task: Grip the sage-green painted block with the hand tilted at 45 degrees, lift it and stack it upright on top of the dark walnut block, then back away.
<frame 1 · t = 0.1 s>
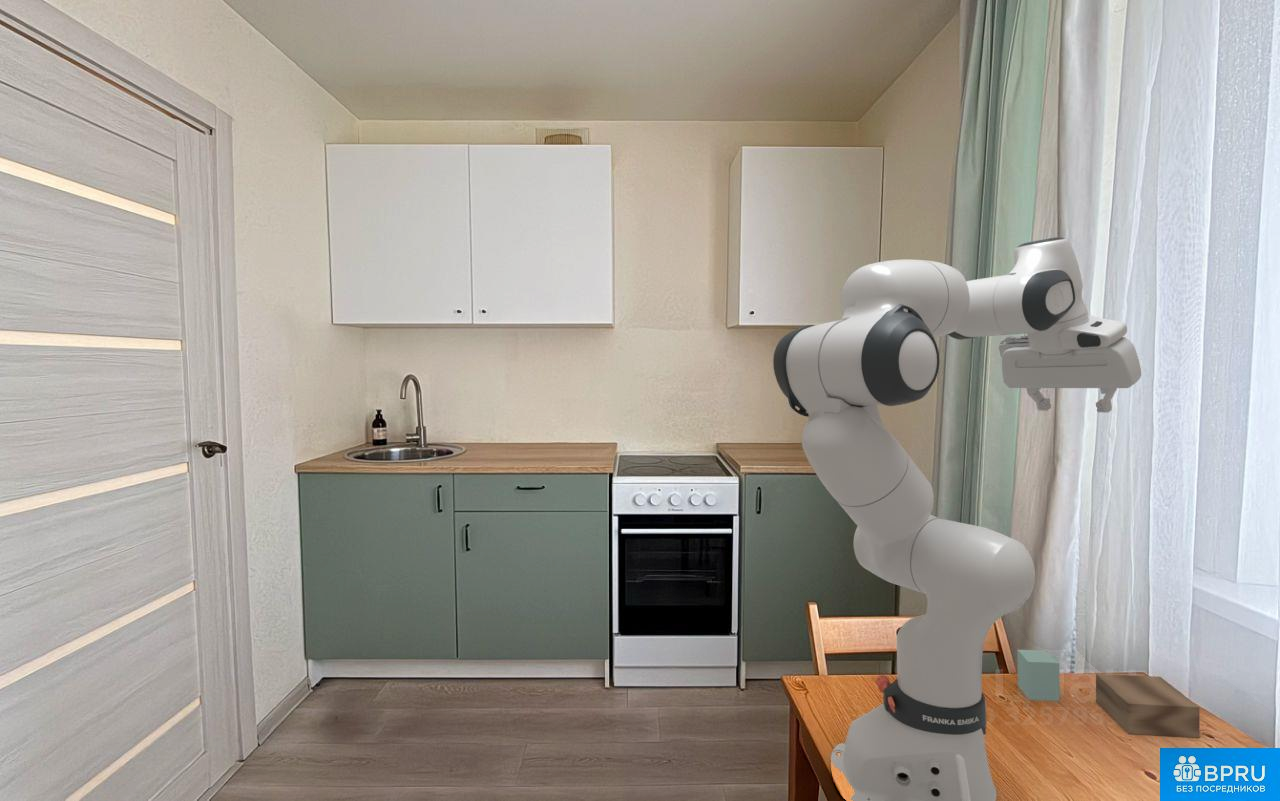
hand: (1073, 410, 109), 52 cm above the table, fingers open, 8 cm apart
walnut block: (1144, 718, 106), on the table
sage block: (1038, 693, 116), on the table
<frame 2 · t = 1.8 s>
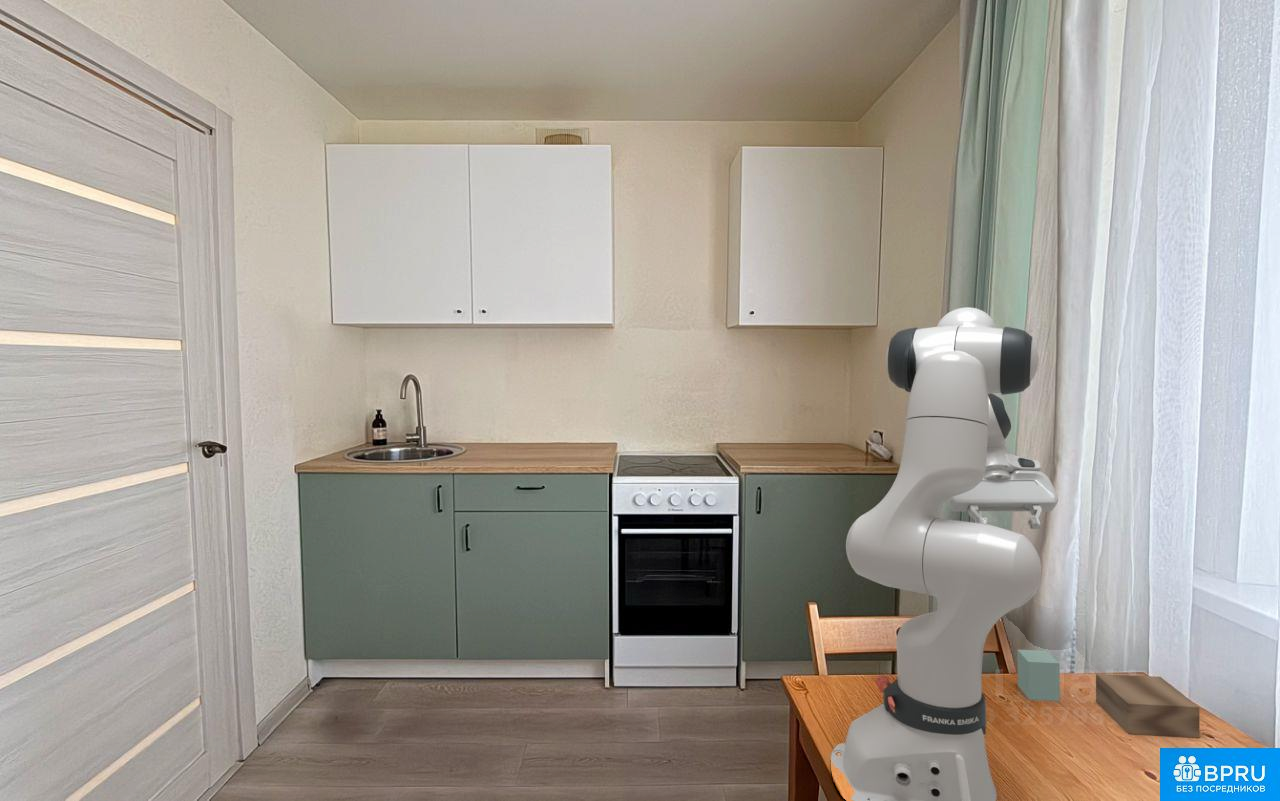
hand: (1009, 527, 127), 27 cm above the table, fingers open, 8 cm apart
nothing on the table moved.
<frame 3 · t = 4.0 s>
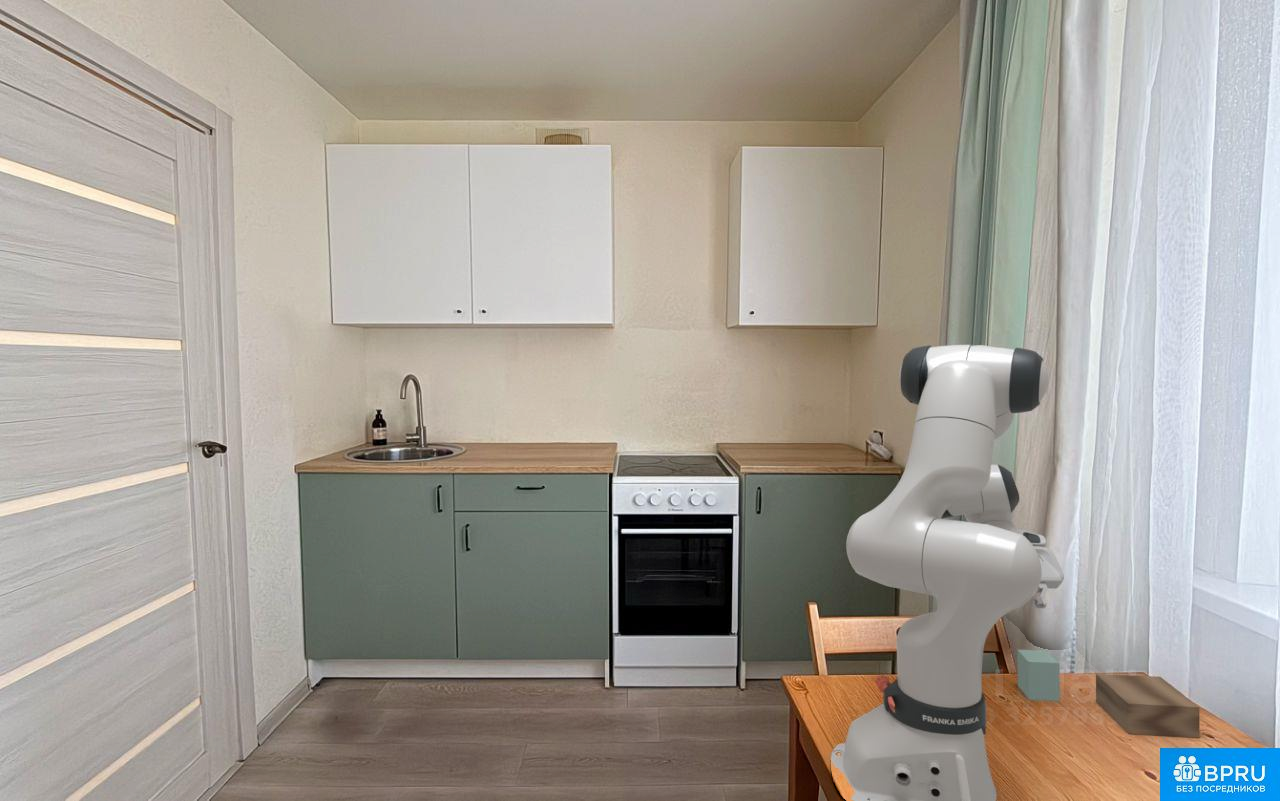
hand: (1015, 606, 125), 12 cm above the table, fingers open, 8 cm apart
nothing on the table moved.
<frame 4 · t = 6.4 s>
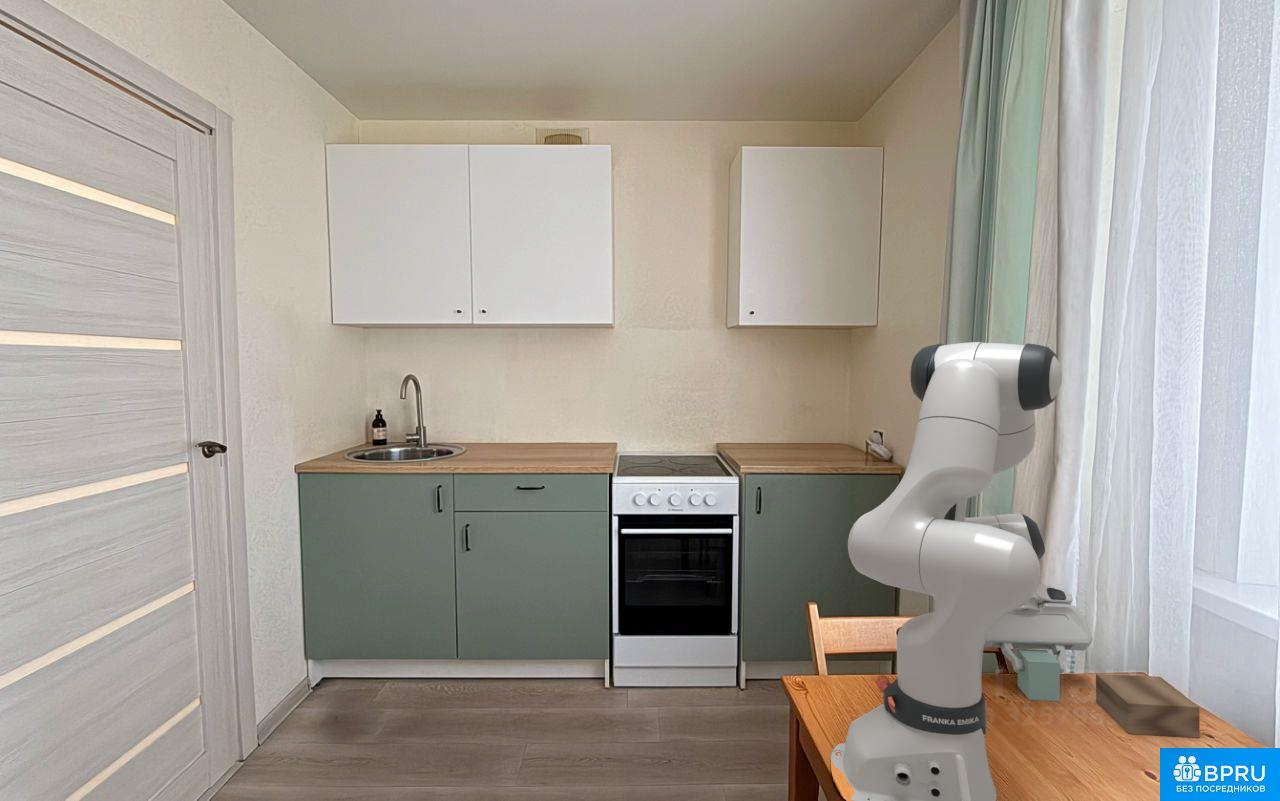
hand: (1039, 671, 115), 4 cm above the table, fingers closed on sage block, 5 cm apart
sage block: (1038, 693, 116), on the table, touching gripper
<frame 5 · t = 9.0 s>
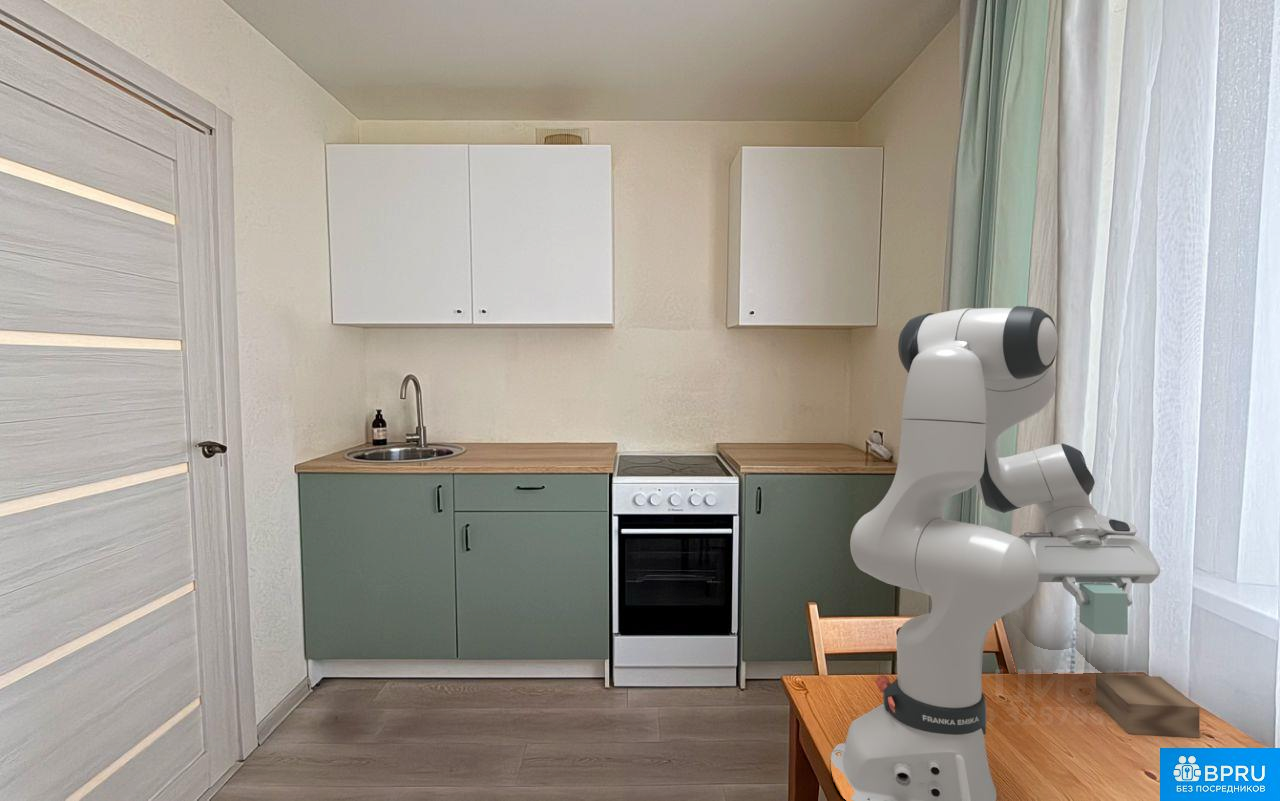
hand: (1105, 604, 109), 19 cm above the table, fingers closed on sage block, 5 cm apart
sage block: (1103, 628, 109), point 14 cm above the table, touching gripper
when the fingers open (11 cm above the table, at t = 11.7 s): sage block drops 1 cm, resting on walnut block.
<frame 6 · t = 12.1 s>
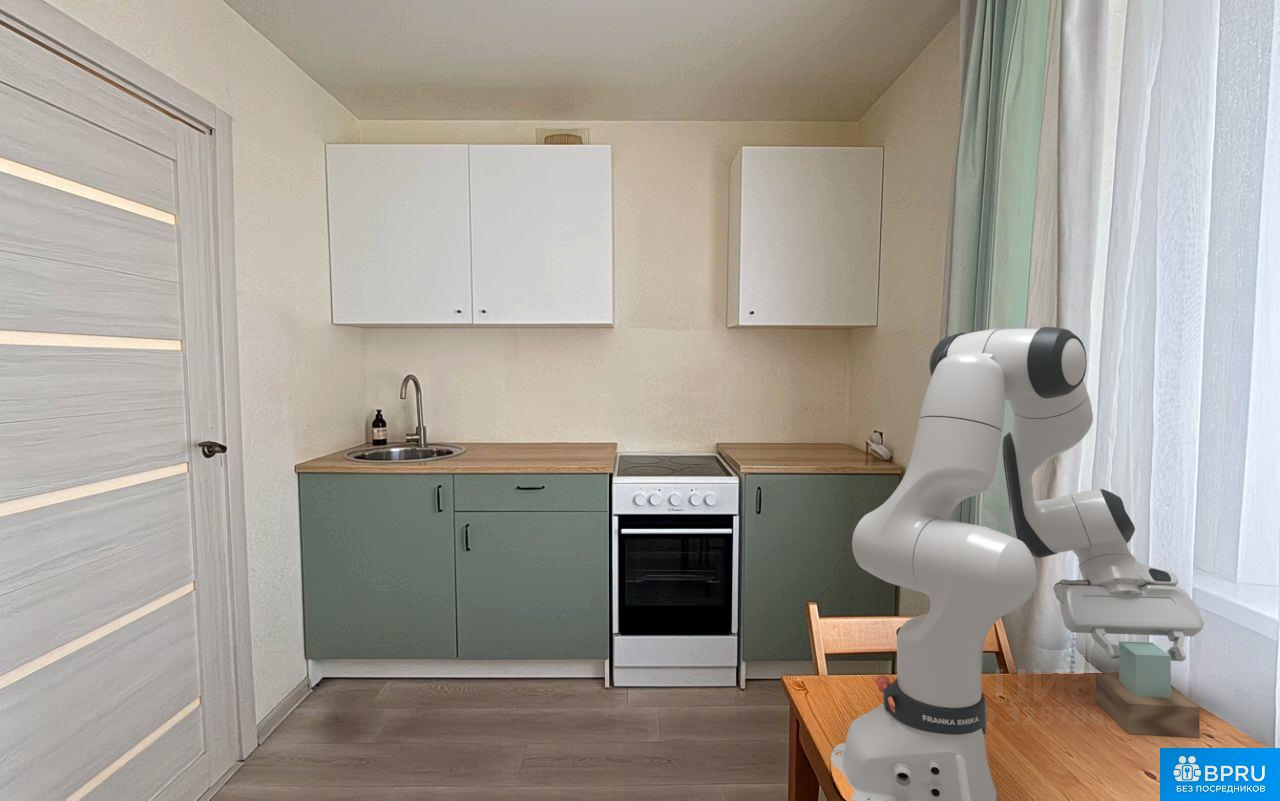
hand: (1146, 658, 105), 11 cm above the table, fingers open, 8 cm apart
sage block: (1144, 689, 106), point 5 cm above the table, touching walnut block
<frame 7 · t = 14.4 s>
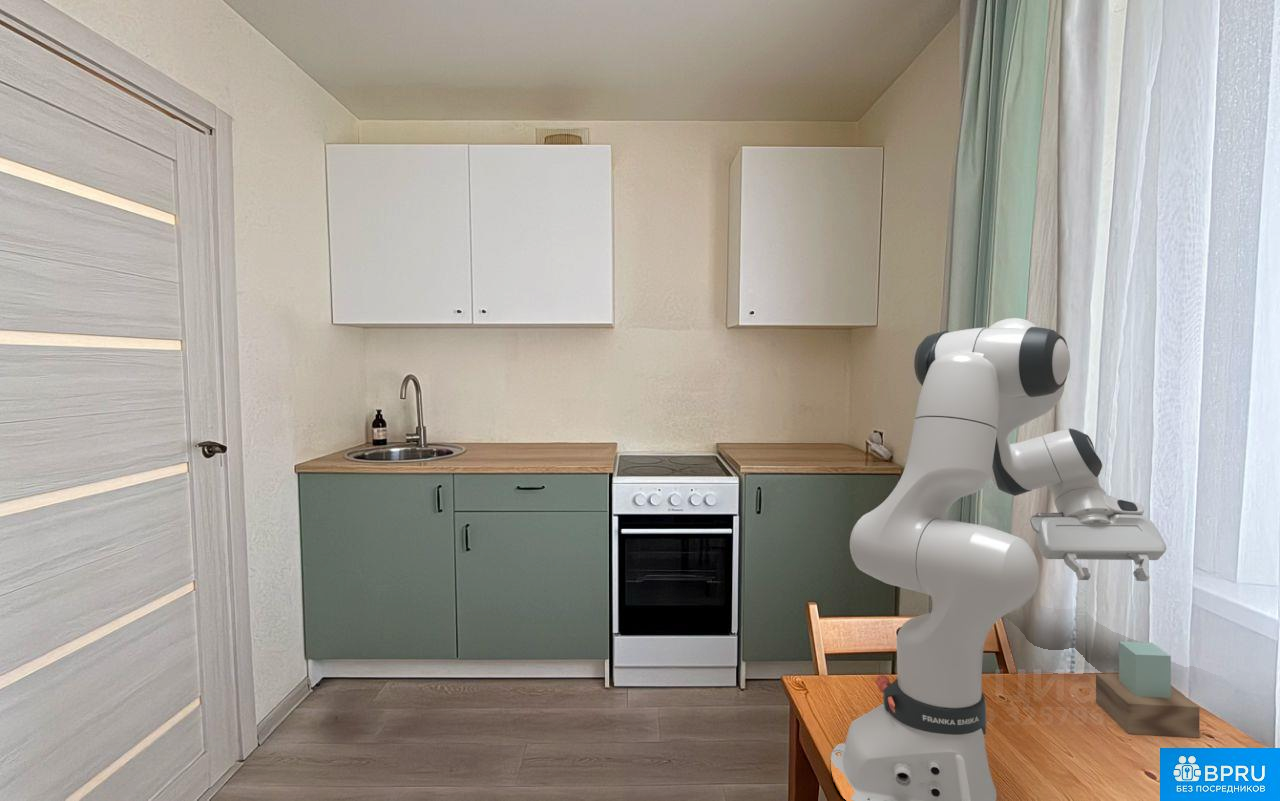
hand: (1113, 579, 115), 21 cm above the table, fingers open, 8 cm apart
nothing on the table moved.
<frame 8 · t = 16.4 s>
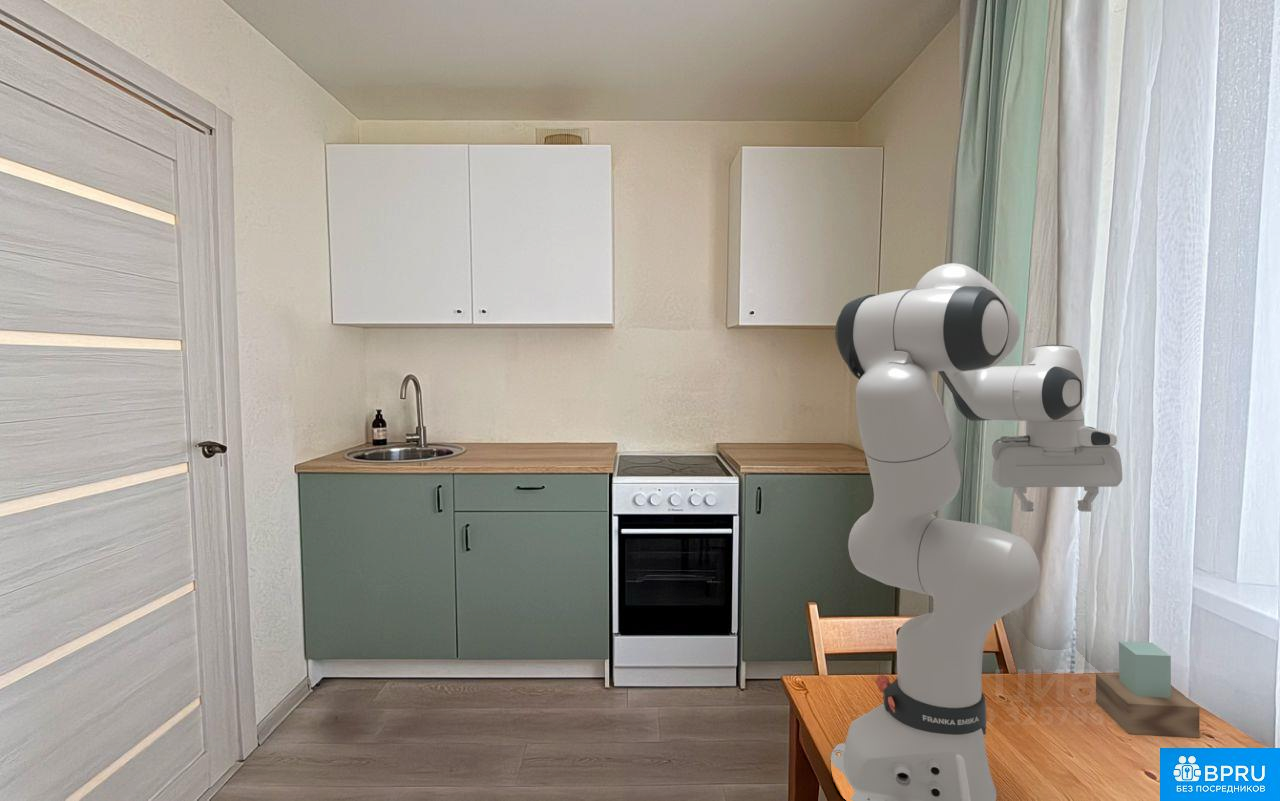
hand: (1055, 511, 115), 33 cm above the table, fingers open, 8 cm apart
nothing on the table moved.
at the end: sage block 0.1 cm off-centre on the walnut block, point 5.0 cm above the walnut block's base; sage block tilted 0°; the gripper is holding nothing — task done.
